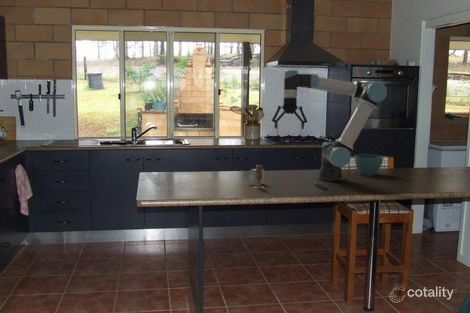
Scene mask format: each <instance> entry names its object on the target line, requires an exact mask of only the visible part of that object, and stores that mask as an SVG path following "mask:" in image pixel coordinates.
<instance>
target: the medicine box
mask: <svg viewBox="0 0 470 313" xmlns="http://www.w3.org/2000/svg"><path fill="white" fill-rule="evenodd" d="M248 181H249V182H248V183H249V185H250V186H253V187H254V186H257V178H256V168H252V169H249V180H248ZM264 184H265V169H263V168H262V179H261V185H264Z"/></svg>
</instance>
